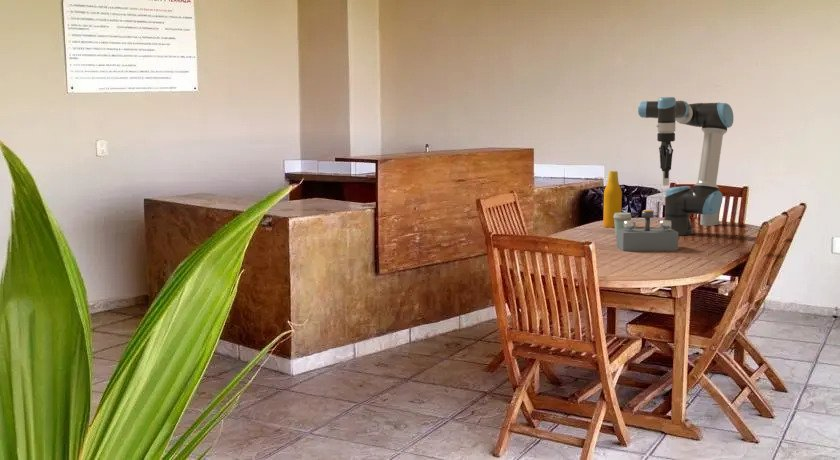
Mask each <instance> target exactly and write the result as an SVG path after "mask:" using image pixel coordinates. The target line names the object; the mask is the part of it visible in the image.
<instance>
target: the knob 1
mask: <svg viewBox="0 0 840 460" xmlns="http://www.w3.org/2000/svg"><path fill="white" fill-rule="evenodd" d="M624 228H625V229H627V231H632V229H636V221H635V220H631V221H624Z"/></svg>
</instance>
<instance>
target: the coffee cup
mask: <svg viewBox="0 0 840 460" xmlns="http://www.w3.org/2000/svg"><path fill="white" fill-rule="evenodd" d="M624 221H632V215H631V212H626V211H625V212H624V211H623V212H622V211H621V212H618V213H615V214H614V223H615V228H614V231H615V232H614V233H615V239H617V229H625V228H624Z"/></svg>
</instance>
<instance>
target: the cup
mask: <svg viewBox="0 0 840 460" xmlns="http://www.w3.org/2000/svg"><path fill="white" fill-rule="evenodd" d="M719 220H720V210H719V211H718V212H717V213H716V214H713V215H704V214H700V222H699V224H700V225H701V226H706V227H714V226H713V225H718V224H719V222H720V221H719ZM719 225H720V224H719ZM719 225H718V226H719Z"/></svg>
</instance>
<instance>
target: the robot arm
mask: <svg viewBox="0 0 840 460" xmlns="http://www.w3.org/2000/svg"><path fill="white" fill-rule="evenodd" d="M676 99H677V98H676V97H674V96H665V97H661V96H660V97H659V98H658V100H654V101H653V100H649V101H648V100H646V101H641V102H640V103H639V104H638V106H637V113H638V114H637V115H638V116H639V117H640V118H643V119H648V118H649V119H651V118H652V119H657V125H656V128H657V135H656V136H657V137H656V138H657V139H656V140H657V142H660V145H659V147H658V151H659V163H660V165H659V166H660V167H659V168H660V169H661V186H665V187H666V186H670V171H671V170H672V161H673V153H674V149H673V147H672V142H675V141H676V134H675V132H676V123H678V124H681V125H685V126H686V125H687V126H691V127H694V128H695V127H698V128H701V131H702V132H703V140H702V141H703V142H702V148H701V154H700V155H701V156H700V163H699V164H700V165H699V170H698V177H697V181H696V183H695V184H693V189H691V186H689V185H684V186H683V185H682V186H674V187H668V188H667V189H666V190H665V194H664V195H665V196H664V200H665V201H664V218H663V220H670V221H672V222H671V229H673V230H675V231H677V232H678V236H689V235H693V231H694V230H693V226H692V223H691V219H690V214H695V215H701V214H704V215H713V214H716V213H717V212H718V211H719V212H720V209H721V207H722V204H723V194H722V192H721V191H720V188H719V186H718V185H717V180H718V175H719V166H720V161H721V153H722V152H721V151H722V147H723V137H724V135H726V133H727V132H728V129H729V128H731V127H732V126H733V124H734V112H733V109H732V107H731V105H730V104H728V103H727V102H696V103H688V102H687V101H684V100H676Z"/></svg>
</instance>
